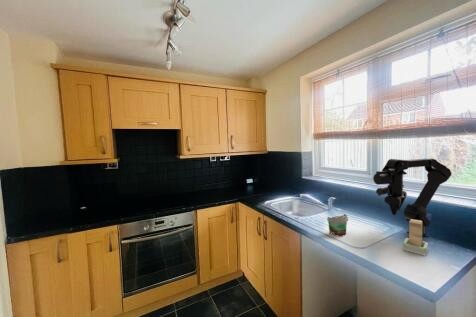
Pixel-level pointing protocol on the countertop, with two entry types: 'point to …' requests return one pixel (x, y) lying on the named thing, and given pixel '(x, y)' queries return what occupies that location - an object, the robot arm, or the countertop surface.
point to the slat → (415, 232)
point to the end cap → (415, 247)
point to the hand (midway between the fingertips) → (396, 212)
